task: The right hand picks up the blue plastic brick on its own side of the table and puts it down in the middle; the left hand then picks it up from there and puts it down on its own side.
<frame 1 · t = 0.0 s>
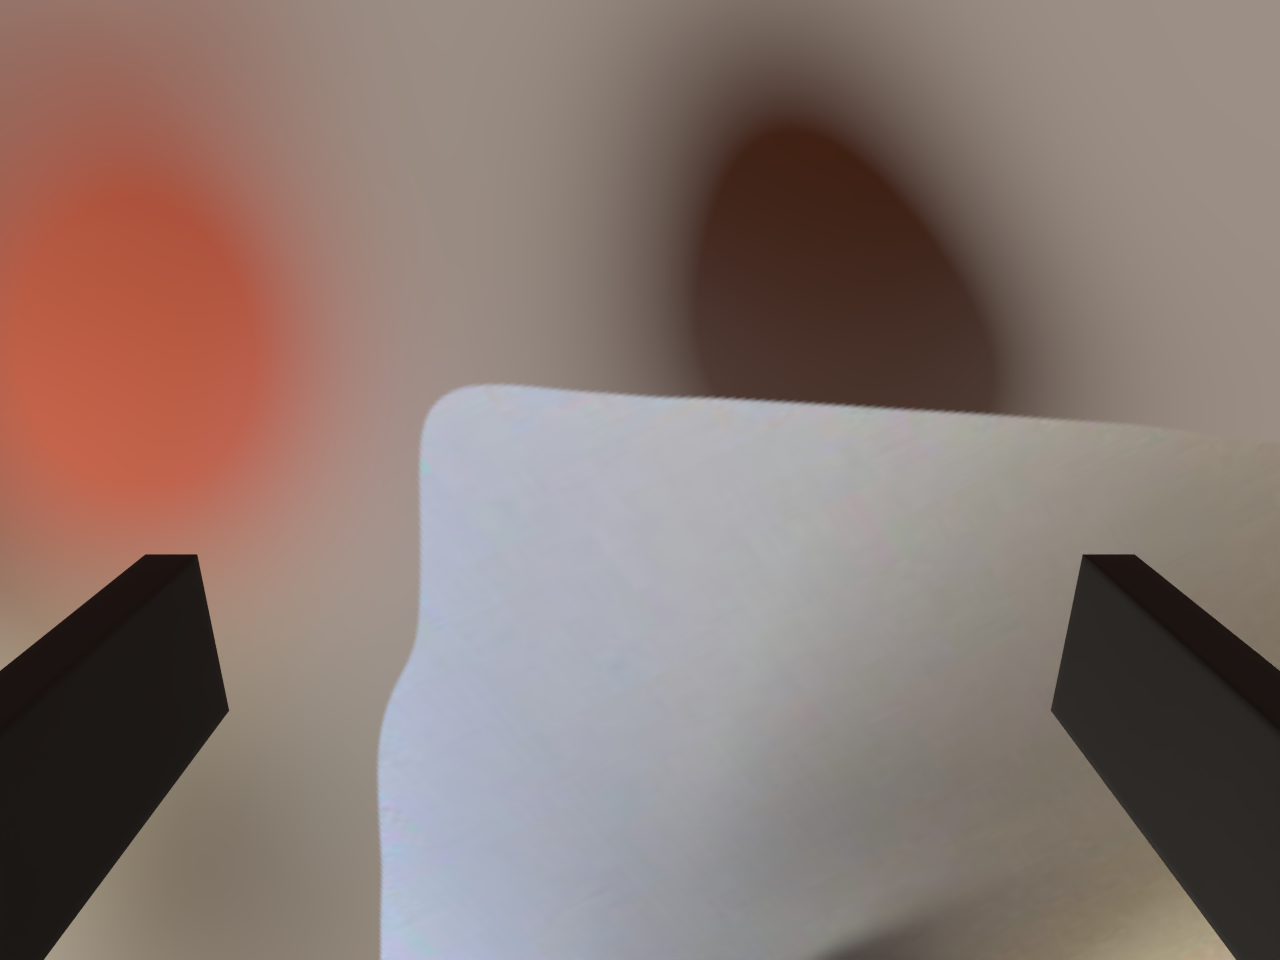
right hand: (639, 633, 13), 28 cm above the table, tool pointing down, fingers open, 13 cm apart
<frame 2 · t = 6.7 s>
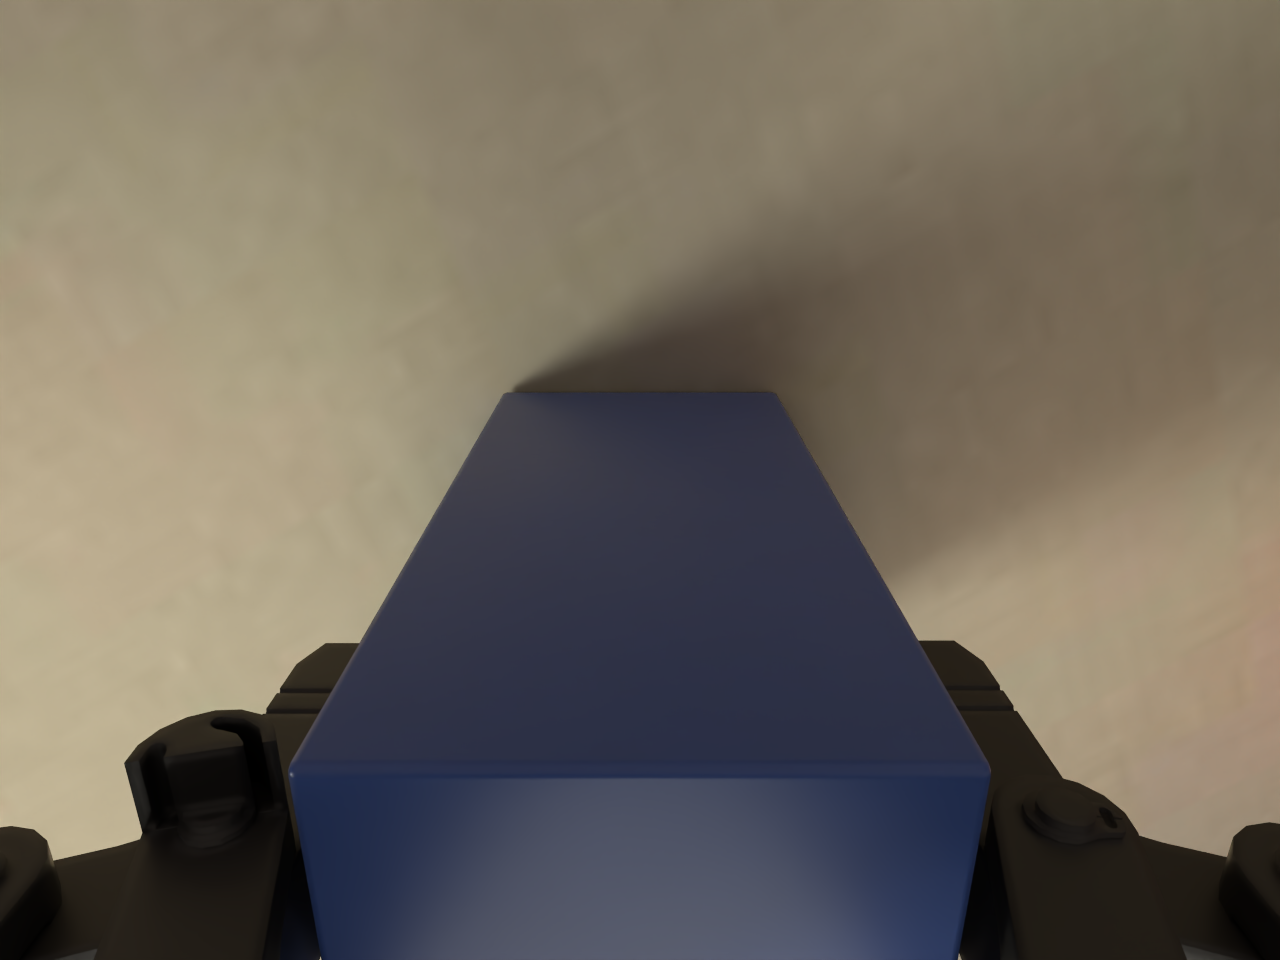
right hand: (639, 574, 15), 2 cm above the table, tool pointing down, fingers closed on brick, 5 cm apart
brick: (639, 530, 16), on the table, touching right hand
when the right hand's fingers open (3 cm above the table, at t = 16.7 s): brick drops 2 cm, on the table.
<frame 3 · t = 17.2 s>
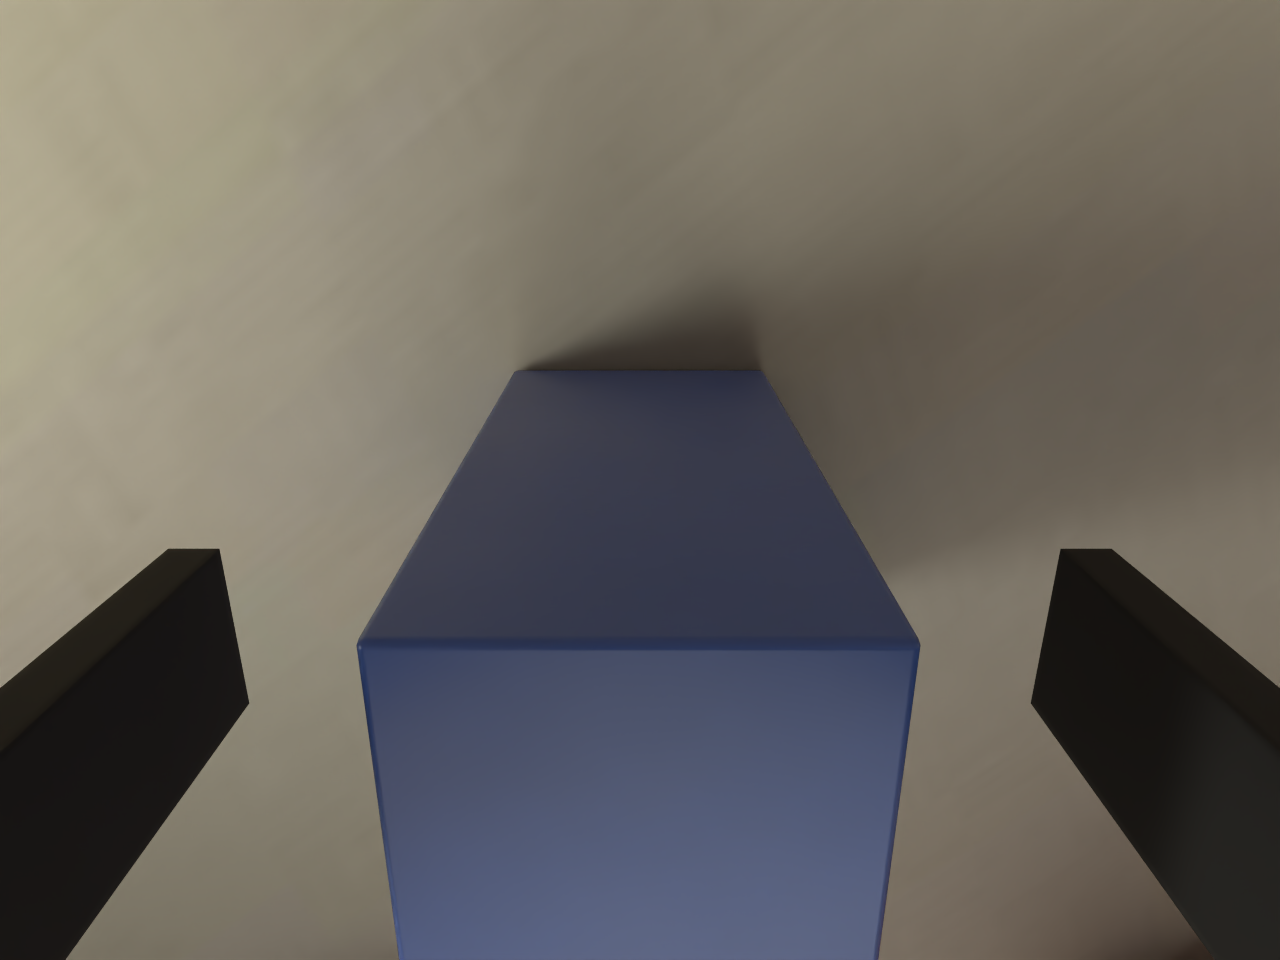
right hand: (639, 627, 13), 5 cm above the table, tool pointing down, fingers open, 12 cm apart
brick: (638, 498, 18), on the table
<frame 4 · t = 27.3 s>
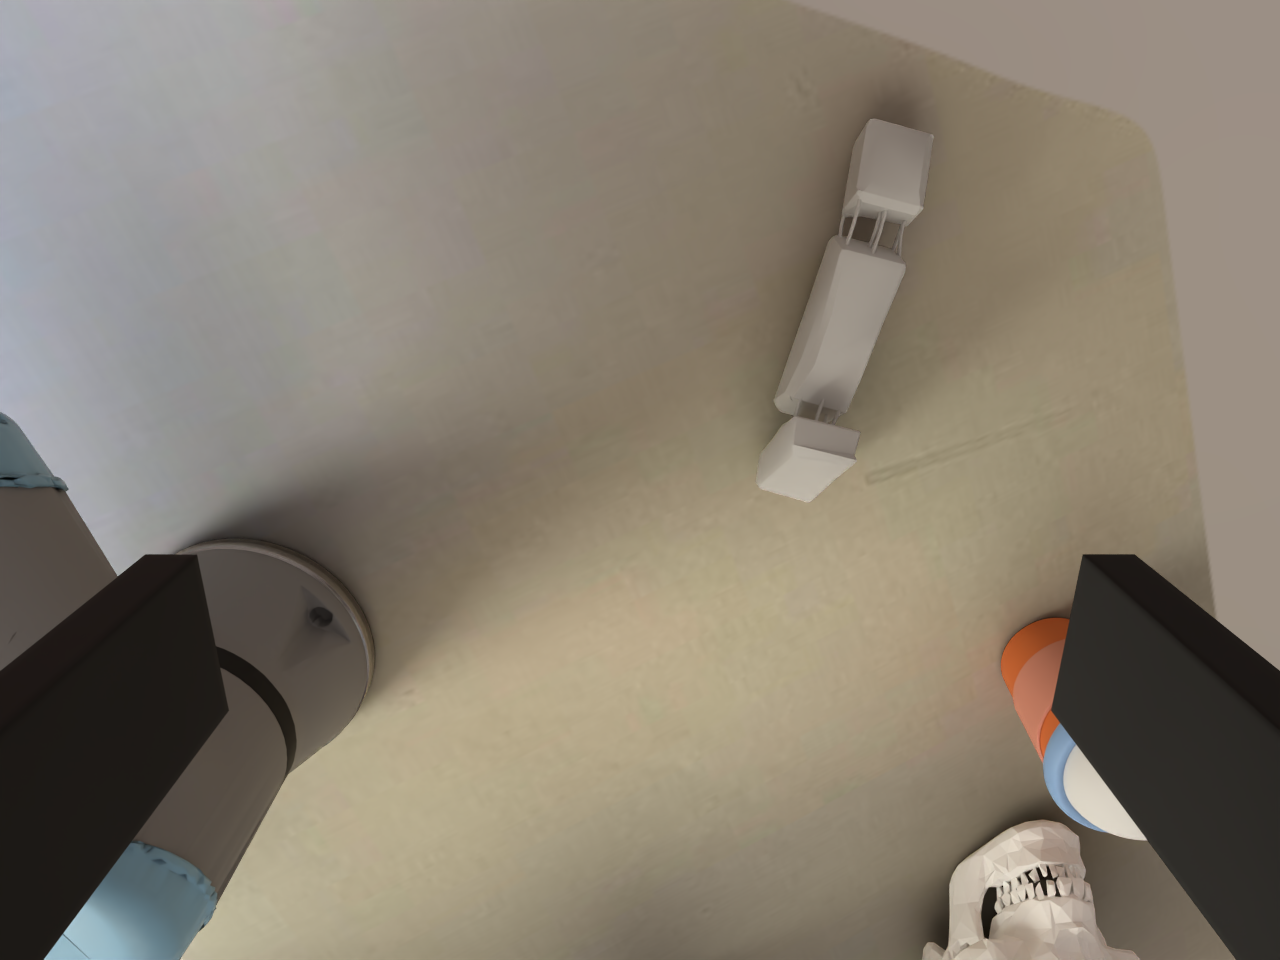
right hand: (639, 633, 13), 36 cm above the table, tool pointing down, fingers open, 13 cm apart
white jointed bar: (830, 317, 47), on the table
skull: (997, 918, 63), on the table
cup with straw: (1046, 656, 55), on the table
when the left hand's fingers open (3 cm above the table, at t = 36.5 s): brick drops 2 cm, on the table.
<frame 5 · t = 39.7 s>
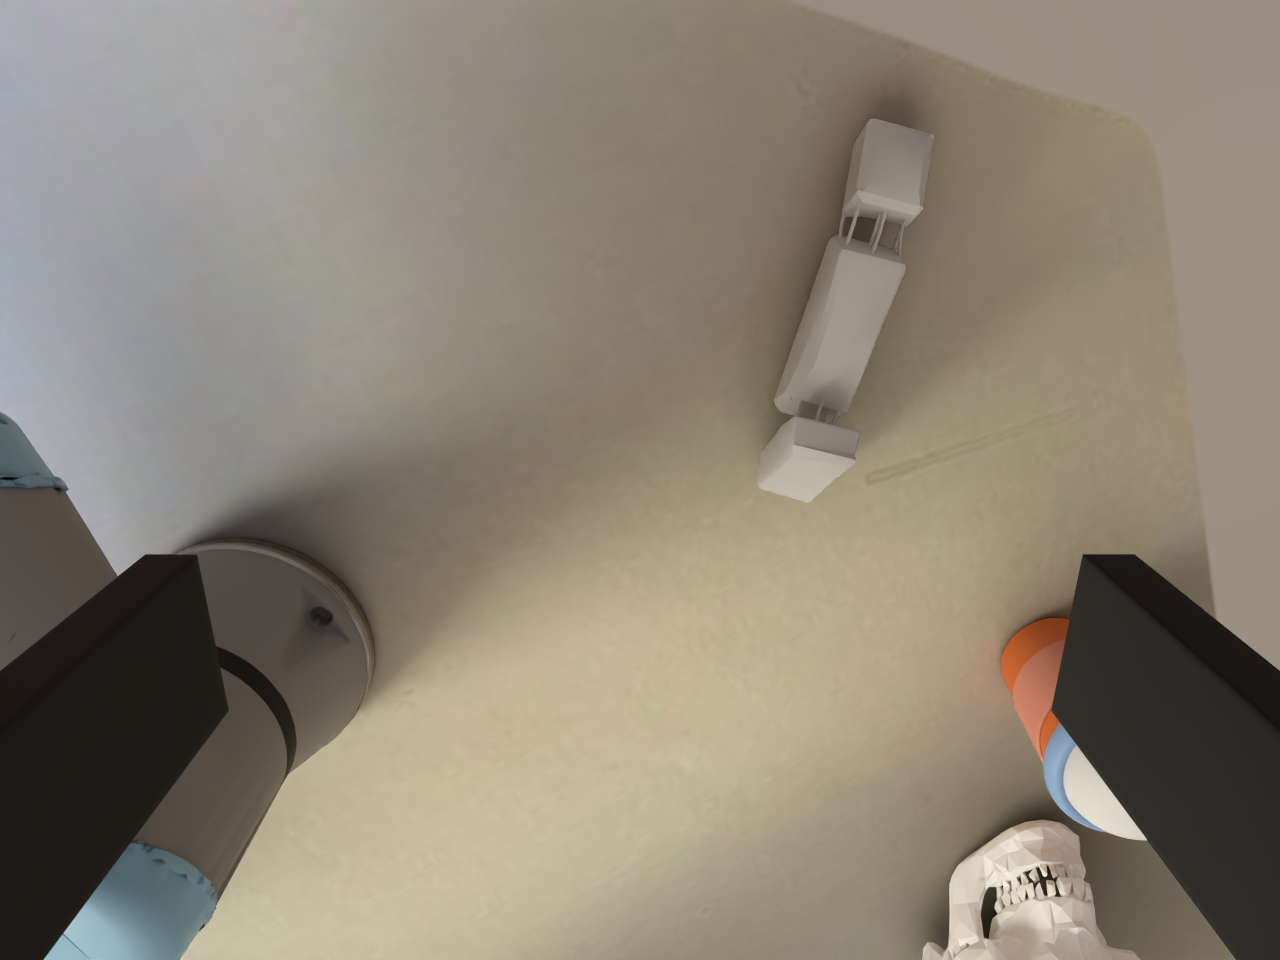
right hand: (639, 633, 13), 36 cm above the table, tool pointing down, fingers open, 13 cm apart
white jointed bar: (830, 317, 47), on the table
skull: (997, 918, 63), on the table
cup with straw: (1046, 656, 55), on the table
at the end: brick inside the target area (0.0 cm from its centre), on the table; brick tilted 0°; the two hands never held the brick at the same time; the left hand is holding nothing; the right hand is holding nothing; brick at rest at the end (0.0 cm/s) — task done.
